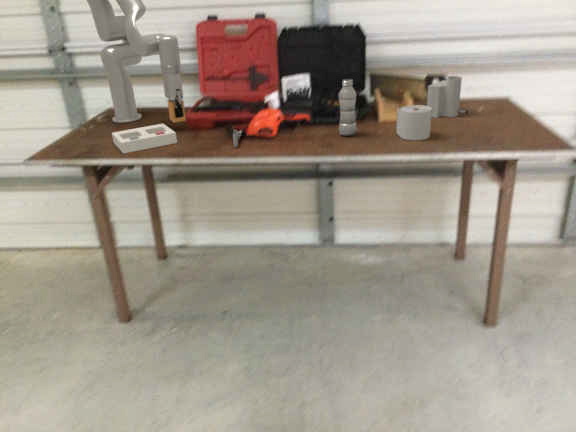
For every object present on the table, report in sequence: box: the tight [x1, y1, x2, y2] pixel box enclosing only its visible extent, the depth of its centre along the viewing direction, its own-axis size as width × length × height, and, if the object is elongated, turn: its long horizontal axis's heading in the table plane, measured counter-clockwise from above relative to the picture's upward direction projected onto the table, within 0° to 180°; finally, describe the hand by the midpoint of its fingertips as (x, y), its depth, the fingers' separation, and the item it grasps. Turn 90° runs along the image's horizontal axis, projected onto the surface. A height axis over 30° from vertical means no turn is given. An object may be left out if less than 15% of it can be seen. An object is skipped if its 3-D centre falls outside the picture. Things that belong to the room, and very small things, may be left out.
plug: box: [167, 98, 187, 123], centre depth 205 cm, size 5×5×8 cm
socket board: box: [111, 122, 178, 154], centre depth 193 cm, size 16×20×5 cm
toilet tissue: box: [395, 104, 432, 141], centre depth 181 cm, size 11×12×10 cm
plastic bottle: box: [338, 78, 357, 136], centre depth 184 cm, size 6×7×20 cm
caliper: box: [232, 129, 242, 148], centre depth 190 cm, size 20×1×6 cm, turn 175°
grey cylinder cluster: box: [426, 75, 469, 119], centre depth 202 cm, size 12×14×15 cm
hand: (177, 115), depth 206 cm, fingers closed on plug, 4 cm apart
